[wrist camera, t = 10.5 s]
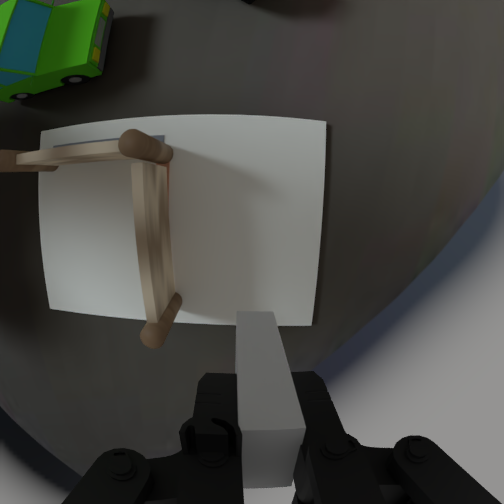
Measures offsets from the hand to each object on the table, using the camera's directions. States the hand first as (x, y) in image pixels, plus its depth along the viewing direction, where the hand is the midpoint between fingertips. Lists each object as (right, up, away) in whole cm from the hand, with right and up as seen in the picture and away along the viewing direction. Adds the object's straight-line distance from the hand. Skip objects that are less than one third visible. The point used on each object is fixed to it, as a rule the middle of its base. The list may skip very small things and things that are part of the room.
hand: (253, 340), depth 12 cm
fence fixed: (-14, +12, +12) cm, 22 cm away
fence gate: (-7, +5, +13) cm, 16 cm away
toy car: (-20, +24, +10) cm, 33 cm away
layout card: (-8, +6, +14) cm, 17 cm away
